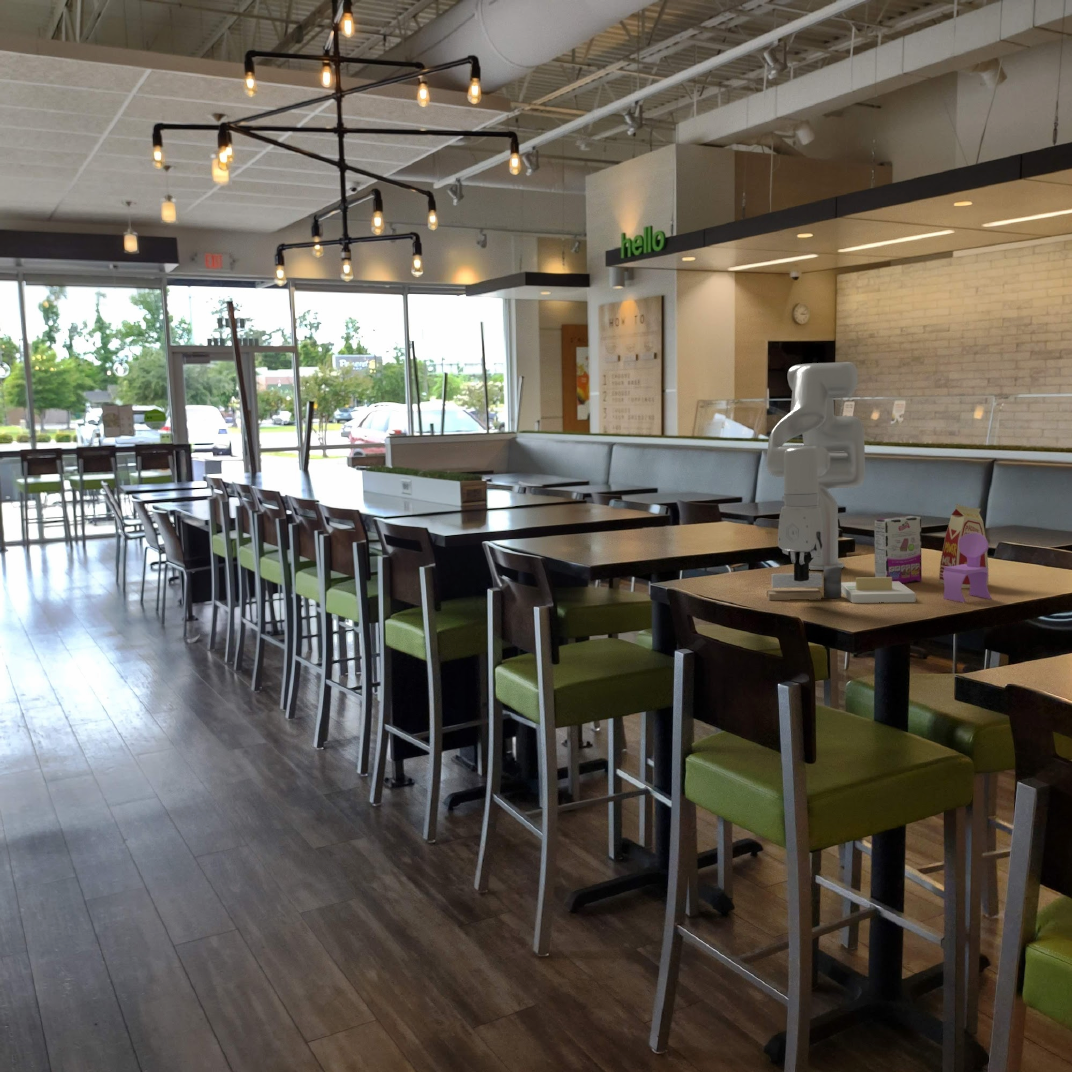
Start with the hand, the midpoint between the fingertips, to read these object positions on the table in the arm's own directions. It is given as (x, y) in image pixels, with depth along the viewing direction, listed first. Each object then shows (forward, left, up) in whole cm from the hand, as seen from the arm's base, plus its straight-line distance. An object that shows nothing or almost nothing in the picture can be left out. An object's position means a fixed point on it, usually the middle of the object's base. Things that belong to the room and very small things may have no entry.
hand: (801, 580), depth 233 cm
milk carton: (-21, +42, -6) cm, 47 cm away
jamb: (-7, +2, -5) cm, 9 cm away
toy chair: (-2, +37, -6) cm, 38 cm away
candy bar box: (-25, +27, -6) cm, 37 cm away
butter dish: (-7, +18, -5) cm, 20 cm away
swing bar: (-7, 0, -3) cm, 8 cm away
